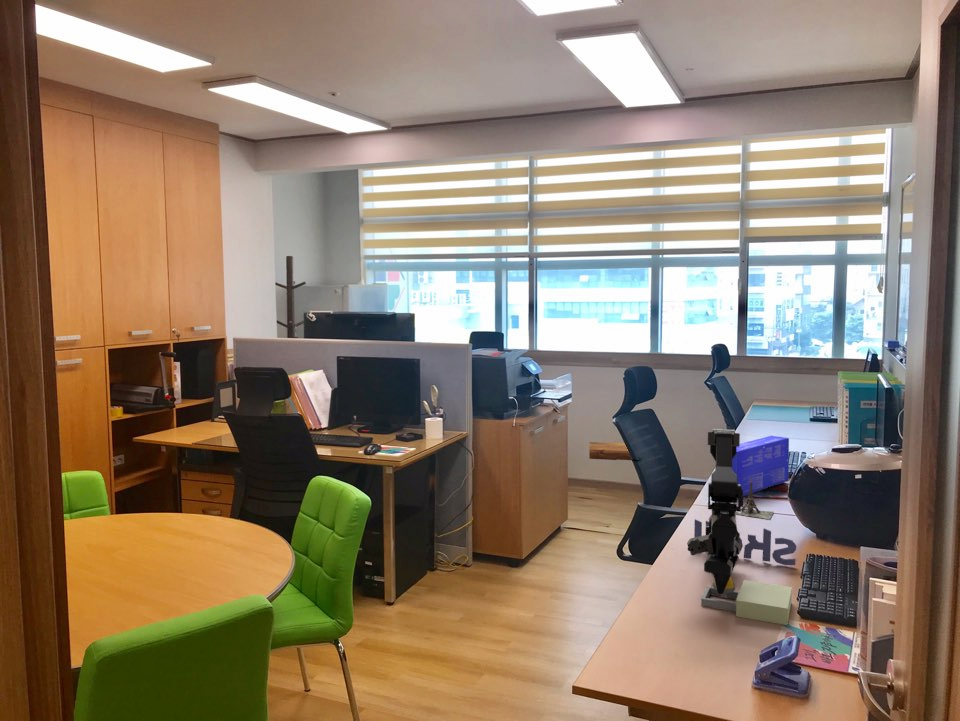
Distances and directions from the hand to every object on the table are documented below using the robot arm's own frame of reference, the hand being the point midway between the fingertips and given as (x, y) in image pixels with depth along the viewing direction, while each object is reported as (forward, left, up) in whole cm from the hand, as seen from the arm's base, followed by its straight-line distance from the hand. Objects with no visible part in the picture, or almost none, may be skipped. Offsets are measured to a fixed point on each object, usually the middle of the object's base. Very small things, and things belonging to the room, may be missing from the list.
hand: (722, 589), depth 186 cm
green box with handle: (0, 0, -3) cm, 3 cm away
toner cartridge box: (-120, -5, -4) cm, 120 cm away
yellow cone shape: (0, 0, -2) cm, 2 cm away
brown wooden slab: (-151, -71, -4) cm, 167 cm away
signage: (-35, +1, -4) cm, 35 cm away
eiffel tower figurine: (-84, -3, -4) cm, 84 cm away
